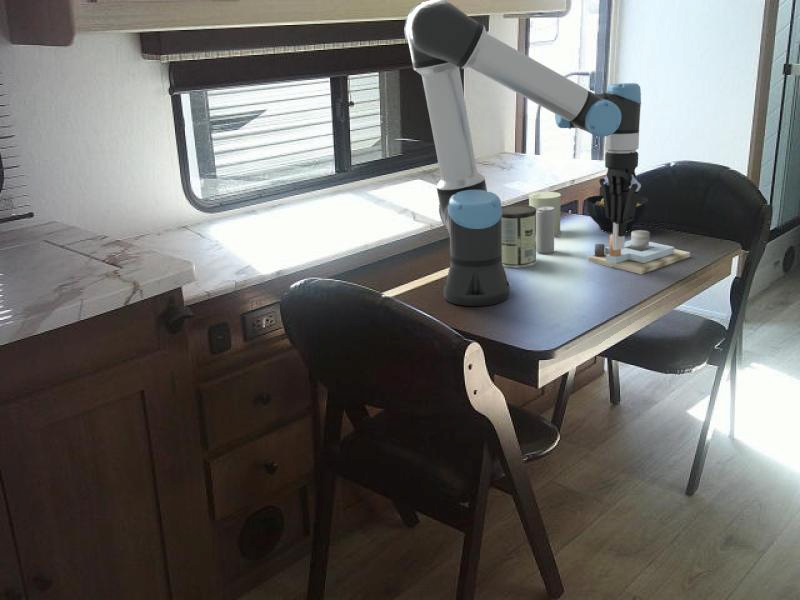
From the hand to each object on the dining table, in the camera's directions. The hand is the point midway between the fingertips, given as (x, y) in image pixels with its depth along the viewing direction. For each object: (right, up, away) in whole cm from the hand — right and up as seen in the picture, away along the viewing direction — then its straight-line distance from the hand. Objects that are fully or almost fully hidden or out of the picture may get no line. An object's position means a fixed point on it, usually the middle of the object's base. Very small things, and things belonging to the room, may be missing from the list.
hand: (618, 248), depth 194 cm
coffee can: (-23, -3, +12) cm, 26 cm away
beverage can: (-14, 0, +20) cm, 24 cm away
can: (-11, +7, +37) cm, 39 cm away
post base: (+8, -2, +9) cm, 12 cm away
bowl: (+9, +8, +38) cm, 40 cm away
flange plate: (+6, -1, +7) cm, 9 cm away
